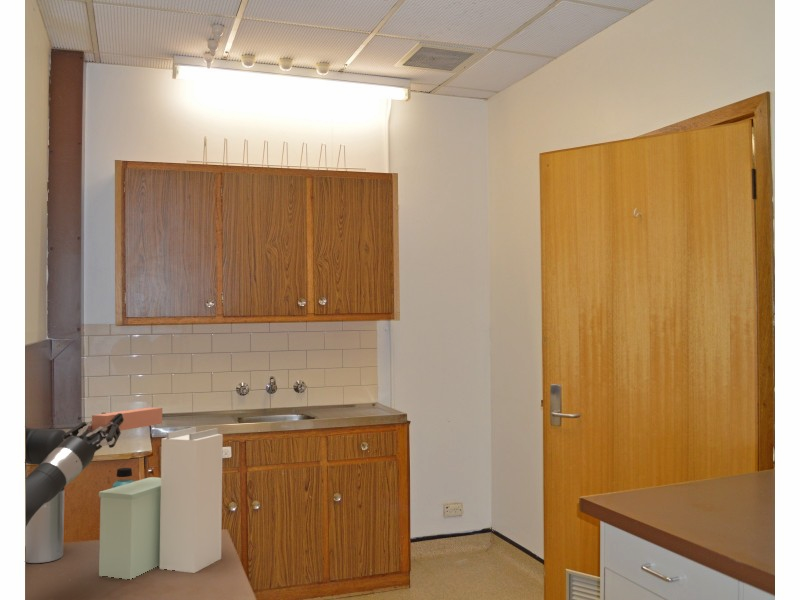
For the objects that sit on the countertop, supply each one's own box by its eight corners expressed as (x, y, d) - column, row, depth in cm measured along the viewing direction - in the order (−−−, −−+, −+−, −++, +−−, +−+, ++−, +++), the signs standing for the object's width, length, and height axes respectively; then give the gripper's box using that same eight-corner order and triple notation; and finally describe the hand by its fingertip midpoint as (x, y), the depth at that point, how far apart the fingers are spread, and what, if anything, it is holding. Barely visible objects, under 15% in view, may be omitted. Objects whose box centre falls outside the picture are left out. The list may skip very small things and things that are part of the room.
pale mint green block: (97, 576, 174) (98, 491, 175) (149, 553, 193) (150, 477, 194) (130, 580, 172) (132, 494, 172) (180, 556, 190) (181, 479, 191)
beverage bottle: (127, 543, 202) (128, 470, 203) (105, 542, 204) (107, 469, 204) (140, 537, 209) (141, 466, 210) (119, 535, 210) (120, 465, 211)
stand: (159, 569, 180) (161, 432, 182) (187, 555, 191) (189, 426, 193) (194, 573, 177) (196, 434, 179) (221, 558, 188) (222, 428, 190)
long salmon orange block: (91, 432, 169) (92, 415, 170) (149, 422, 189) (149, 407, 190) (105, 433, 168) (106, 415, 168) (162, 423, 188) (162, 407, 188)
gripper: (86, 449, 155) (133, 403, 170) (34, 446, 160) (84, 402, 174) (98, 477, 159) (143, 429, 173) (46, 473, 163) (94, 427, 178)
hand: (113, 416), depth 174 cm, fingers closed on long salmon orange block, 4 cm apart
